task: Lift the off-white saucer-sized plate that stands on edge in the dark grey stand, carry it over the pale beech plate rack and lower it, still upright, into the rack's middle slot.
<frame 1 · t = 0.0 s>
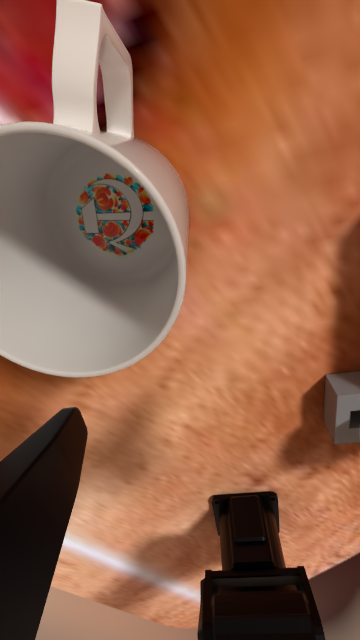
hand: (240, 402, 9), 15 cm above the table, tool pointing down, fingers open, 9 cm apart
mug: (123, 187, 20), on the table
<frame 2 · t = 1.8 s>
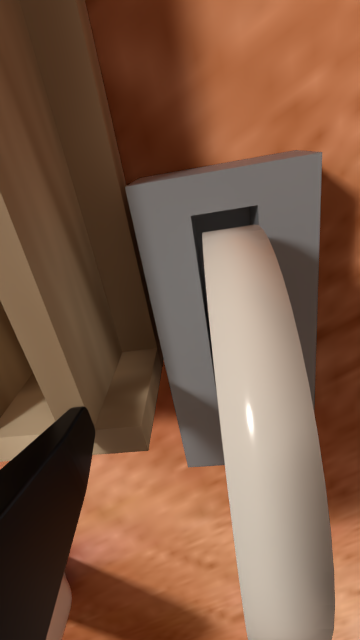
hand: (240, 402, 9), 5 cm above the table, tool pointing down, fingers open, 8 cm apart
plate: (248, 405, 9), point 5 cm above the table, touching stand
stand: (231, 315, 13), on the table
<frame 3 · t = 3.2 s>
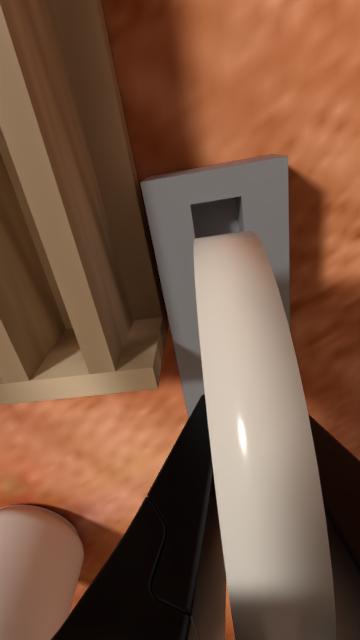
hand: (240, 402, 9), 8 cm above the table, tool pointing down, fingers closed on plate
plate: (243, 418, 8), point 9 cm above the table, touching gripper
stand: (223, 290, 16), on the table
mug: (14, 526, 26), on the table
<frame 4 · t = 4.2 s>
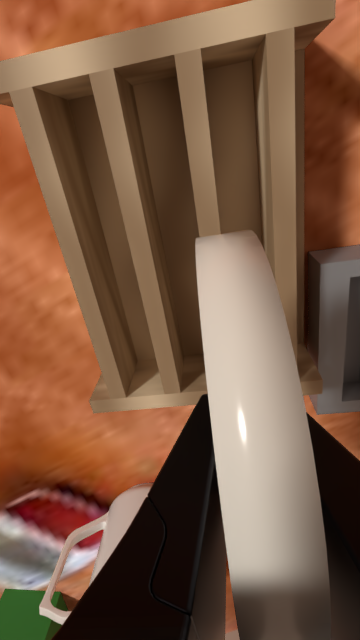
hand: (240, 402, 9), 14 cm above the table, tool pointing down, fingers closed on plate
plate: (243, 412, 9), point 14 cm above the table, touching gripper
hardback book: (48, 621, 47), on the table
stand: (345, 324, 23), on the table
mug: (140, 502, 33), on the table
rack: (183, 238, 21), on the table
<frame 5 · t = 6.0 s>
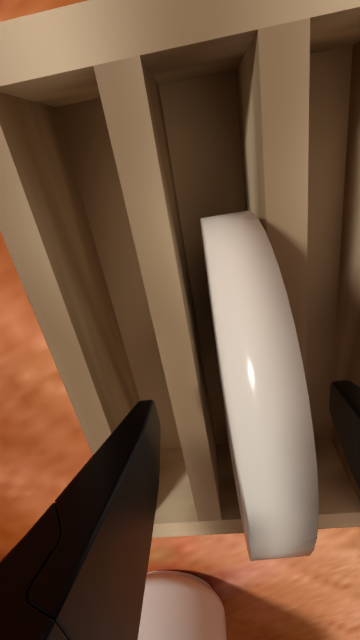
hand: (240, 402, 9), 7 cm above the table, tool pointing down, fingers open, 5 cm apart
plate: (241, 371, 10), point 6 cm above the table, touching rack
mug: (151, 587, 28), on the table
rack: (221, 298, 15), on the table
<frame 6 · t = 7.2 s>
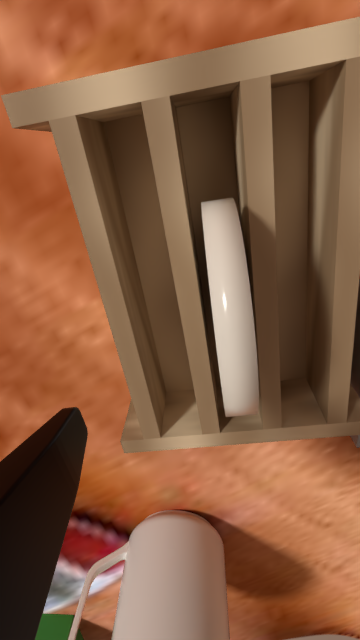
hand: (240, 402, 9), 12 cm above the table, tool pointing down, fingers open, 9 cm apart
plate: (228, 308, 14), point 6 cm above the table, touching rack
mug: (160, 528, 32), on the table
rack: (220, 265, 19), on the table
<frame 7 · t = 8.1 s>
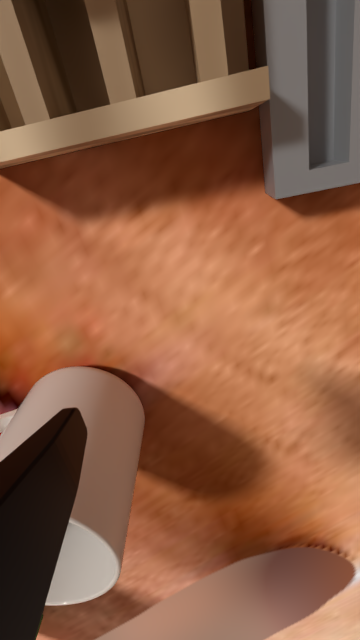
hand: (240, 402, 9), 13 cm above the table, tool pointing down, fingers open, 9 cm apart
stand: (310, 58, 15), on the table
mug: (71, 399, 26), on the table
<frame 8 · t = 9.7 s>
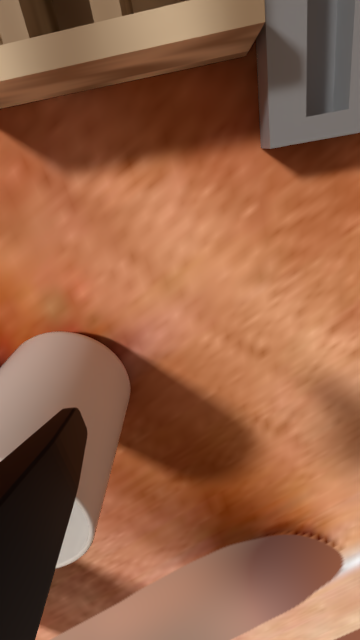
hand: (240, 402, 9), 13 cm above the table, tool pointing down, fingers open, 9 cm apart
mug: (55, 369, 25), on the table
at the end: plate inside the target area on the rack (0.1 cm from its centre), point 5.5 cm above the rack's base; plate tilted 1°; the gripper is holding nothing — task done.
